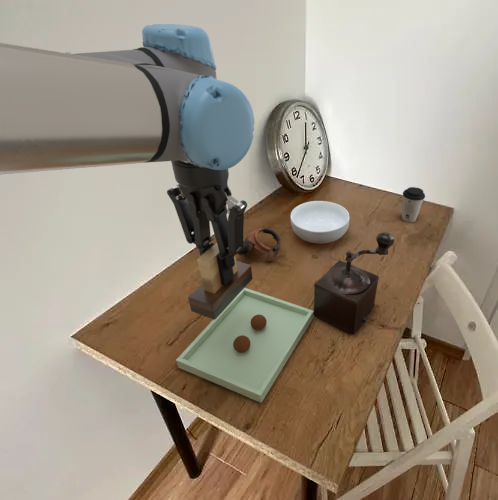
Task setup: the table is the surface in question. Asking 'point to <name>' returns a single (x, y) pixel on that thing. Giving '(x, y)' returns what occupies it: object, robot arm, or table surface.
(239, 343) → the cork ball
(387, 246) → the manual coffee grinder
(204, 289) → the chalkboard eraser
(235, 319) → the tray
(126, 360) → the table surface
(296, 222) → the cereal bowl
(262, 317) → the cork ball
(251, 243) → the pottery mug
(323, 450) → the table surface
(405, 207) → the coffee cup
